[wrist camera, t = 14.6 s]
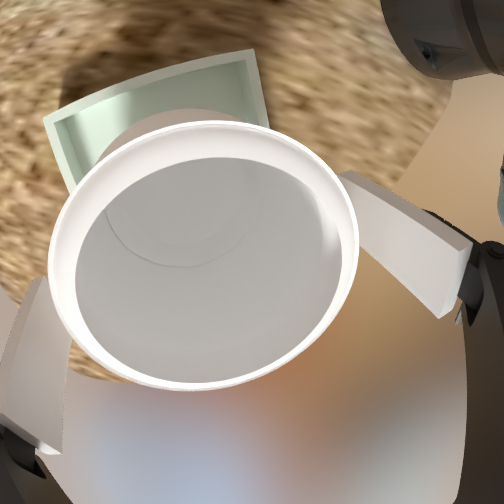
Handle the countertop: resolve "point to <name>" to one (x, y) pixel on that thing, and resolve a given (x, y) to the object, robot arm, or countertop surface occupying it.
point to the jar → (202, 252)
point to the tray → (153, 106)
